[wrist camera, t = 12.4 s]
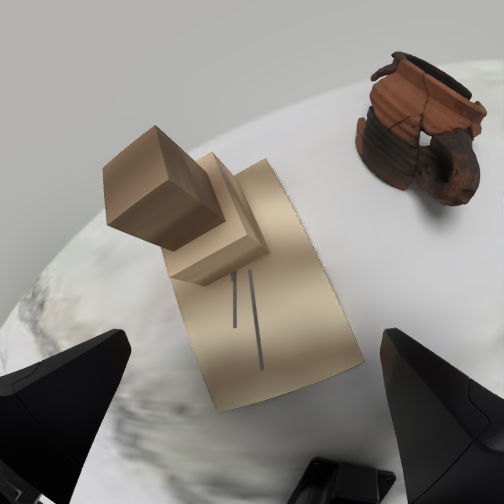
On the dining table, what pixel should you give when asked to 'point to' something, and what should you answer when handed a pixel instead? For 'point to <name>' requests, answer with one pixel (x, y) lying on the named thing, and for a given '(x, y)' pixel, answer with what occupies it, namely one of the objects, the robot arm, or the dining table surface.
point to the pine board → (267, 311)
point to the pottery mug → (422, 119)
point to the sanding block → (182, 208)
